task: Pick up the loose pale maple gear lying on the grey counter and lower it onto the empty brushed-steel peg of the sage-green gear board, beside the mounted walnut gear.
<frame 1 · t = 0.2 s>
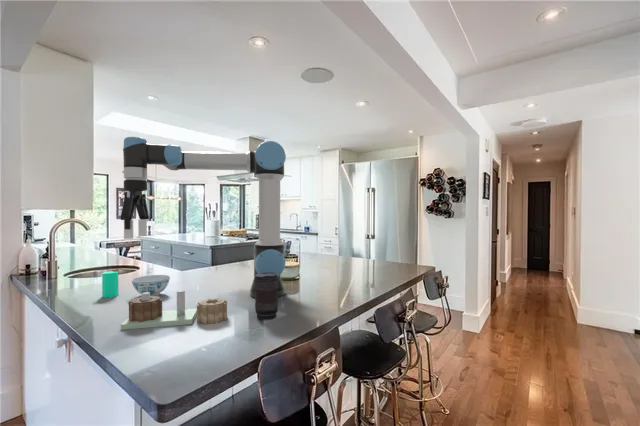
hand: (136, 237, 117), 28 cm above the countertop, fingers open, 13 cm apart
maple gear: (212, 319, 109), on the countertop
camera lens: (266, 317, 111), on the countertop
walnut gear: (145, 317, 106), resting on gear board
gear board: (162, 320, 107), on the countertop
chinaware: (151, 295, 141), on the countertop
candle: (110, 296, 140), on the countertop
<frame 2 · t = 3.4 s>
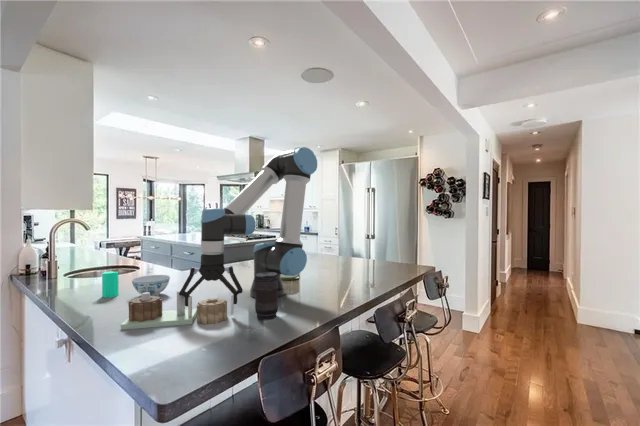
hand: (211, 315, 108), 1 cm above the countertop, fingers open, 13 cm apart
nothing on the countertop moved.
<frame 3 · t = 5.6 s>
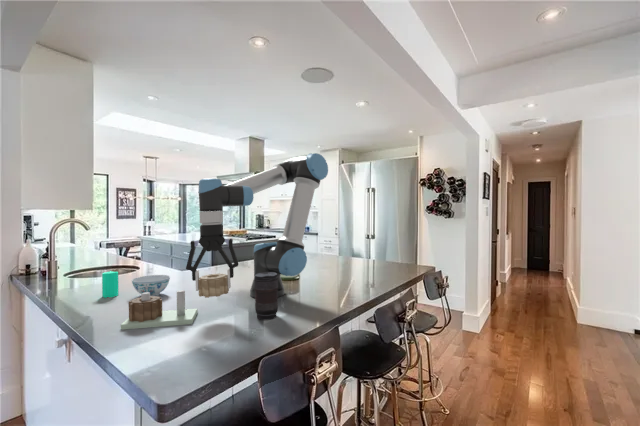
hand: (213, 288, 109), 10 cm above the countertop, fingers closed on maple gear, 10 cm apart
maple gear: (214, 293, 109), point 9 cm above the countertop, touching gripper
everything else where it was.
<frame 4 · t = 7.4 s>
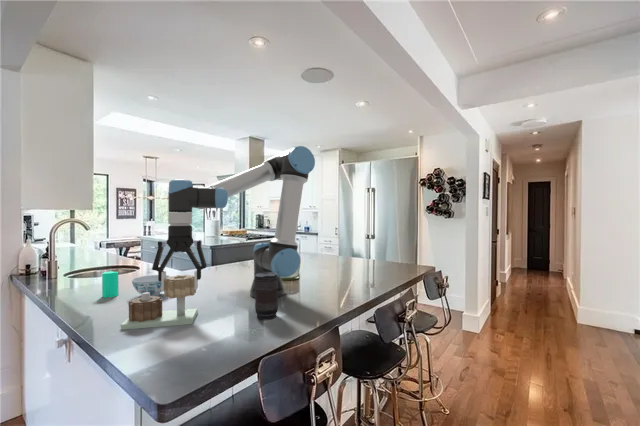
hand: (180, 289, 109), 10 cm above the countertop, fingers closed on maple gear, 10 cm apart
maple gear: (180, 294, 109), point 8 cm above the countertop, touching gripper
everything else where it was.
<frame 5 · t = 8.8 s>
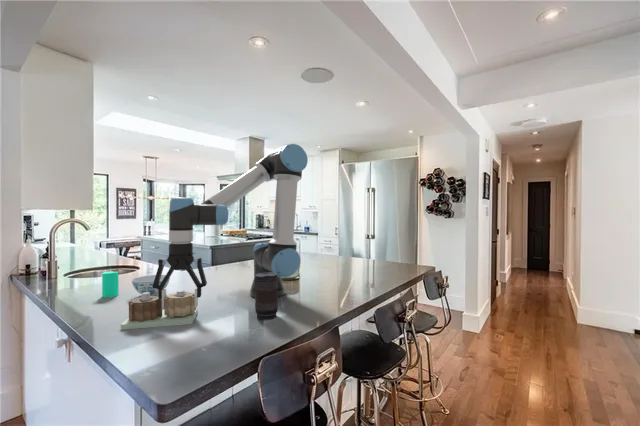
hand: (180, 307, 109), 4 cm above the countertop, fingers closed on maple gear, 10 cm apart
maple gear: (180, 312, 109), point 2 cm above the countertop, touching gripper
everything else where it was.
when the fingers open (4 cm above the countertop, at t = 9.5 s): maple gear stays where it is, resting on gear board.
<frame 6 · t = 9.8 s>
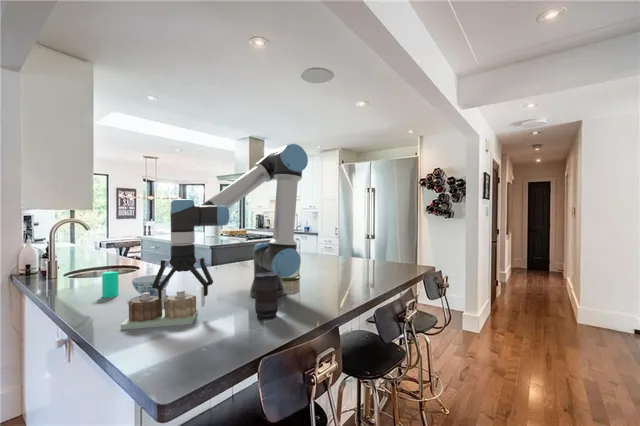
hand: (183, 306, 109), 4 cm above the countertop, fingers open, 12 cm apart
maple gear: (180, 314, 109), point 2 cm above the countertop, touching gear board, gripper
everything else where it was.
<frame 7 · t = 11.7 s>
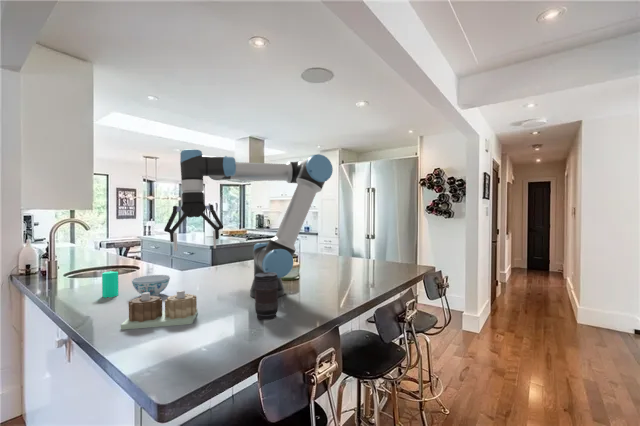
hand: (195, 249, 117), 23 cm above the countertop, fingers open, 13 cm apart
maple gear: (181, 314, 109), point 2 cm above the countertop, touching gear board
everything else where it was.
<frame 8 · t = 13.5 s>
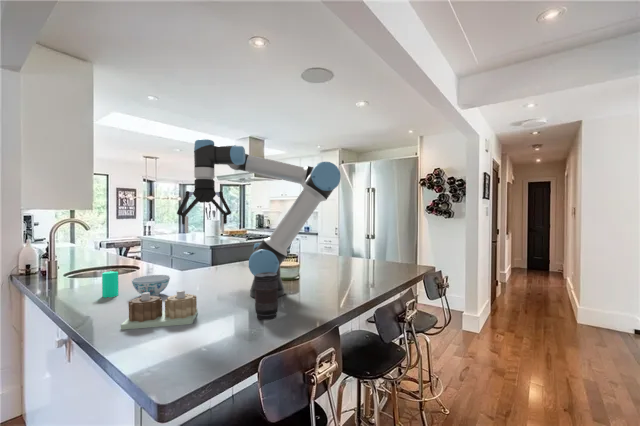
hand: (204, 232, 126), 29 cm above the countertop, fingers open, 13 cm apart
nothing on the countertop moved.
at the end: maple gear 0.3 cm from the target spot on the gear board, point 1.6 cm above the gear board's base; maple gear tilted 0°; the gripper is holding nothing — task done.
